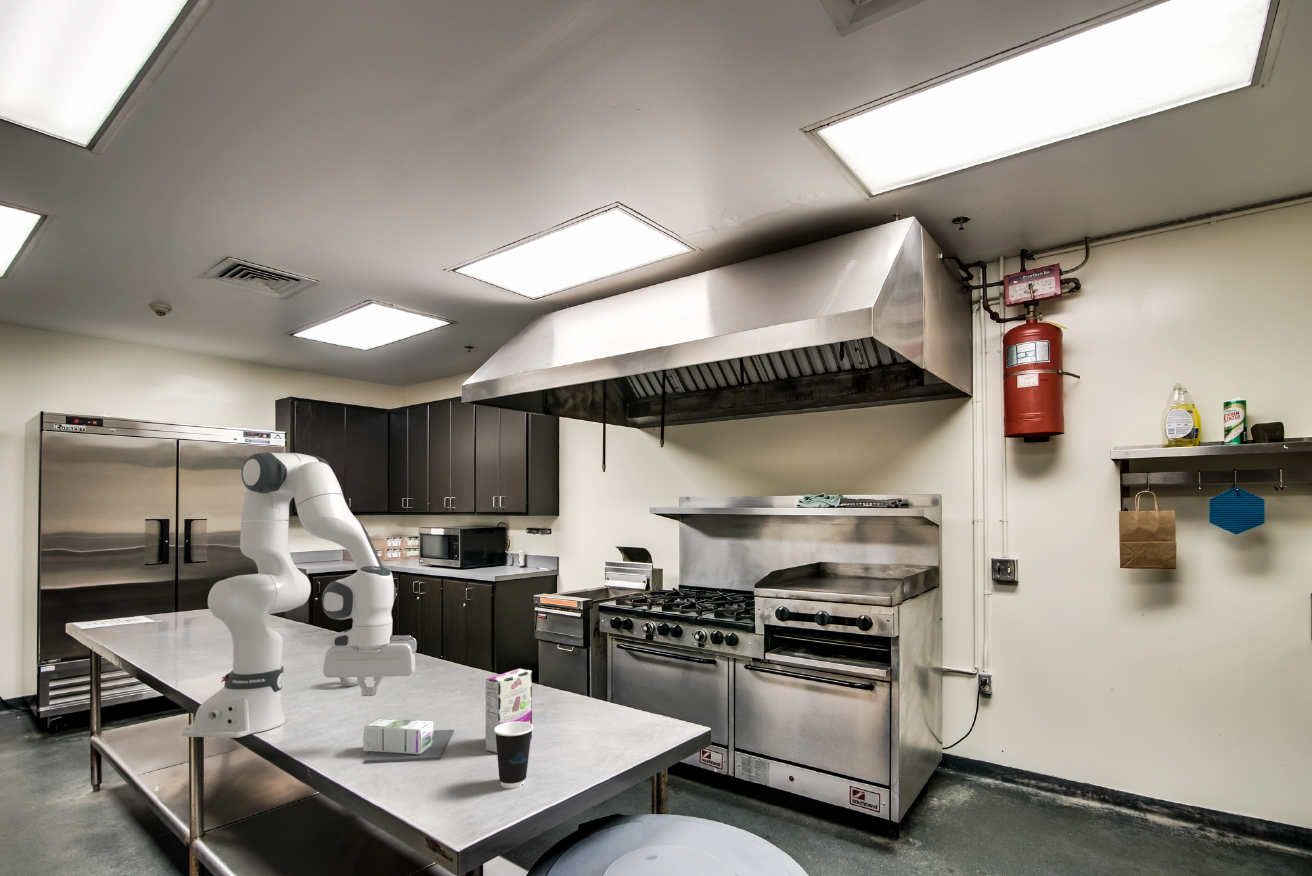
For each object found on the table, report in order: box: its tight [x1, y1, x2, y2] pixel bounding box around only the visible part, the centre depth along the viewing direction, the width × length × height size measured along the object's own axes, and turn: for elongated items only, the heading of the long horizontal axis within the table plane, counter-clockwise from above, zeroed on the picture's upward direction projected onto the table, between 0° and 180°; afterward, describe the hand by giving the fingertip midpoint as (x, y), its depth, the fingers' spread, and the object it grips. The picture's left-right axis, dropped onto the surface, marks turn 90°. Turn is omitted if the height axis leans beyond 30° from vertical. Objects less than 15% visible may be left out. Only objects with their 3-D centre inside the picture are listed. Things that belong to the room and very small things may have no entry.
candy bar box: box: [484, 668, 533, 754], centre depth 155 cm, size 11×5×16 cm, turn 148°
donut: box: [338, 677, 359, 687], centre depth 206 cm, size 10×3×10 cm, turn 152°
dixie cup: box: [494, 722, 534, 789], centre depth 133 cm, size 8×8×11 cm
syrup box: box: [362, 718, 434, 754], centre depth 150 cm, size 6×6×14 cm
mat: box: [364, 729, 455, 764], centre depth 153 cm, size 16×18×1 cm
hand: (368, 695), depth 154 cm, fingers closed
